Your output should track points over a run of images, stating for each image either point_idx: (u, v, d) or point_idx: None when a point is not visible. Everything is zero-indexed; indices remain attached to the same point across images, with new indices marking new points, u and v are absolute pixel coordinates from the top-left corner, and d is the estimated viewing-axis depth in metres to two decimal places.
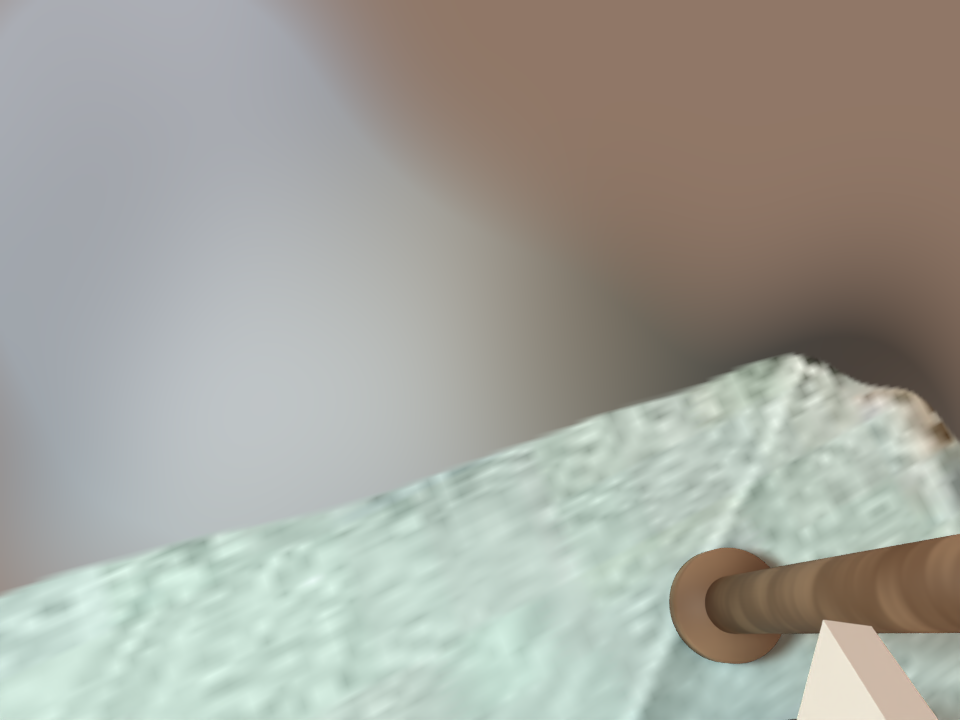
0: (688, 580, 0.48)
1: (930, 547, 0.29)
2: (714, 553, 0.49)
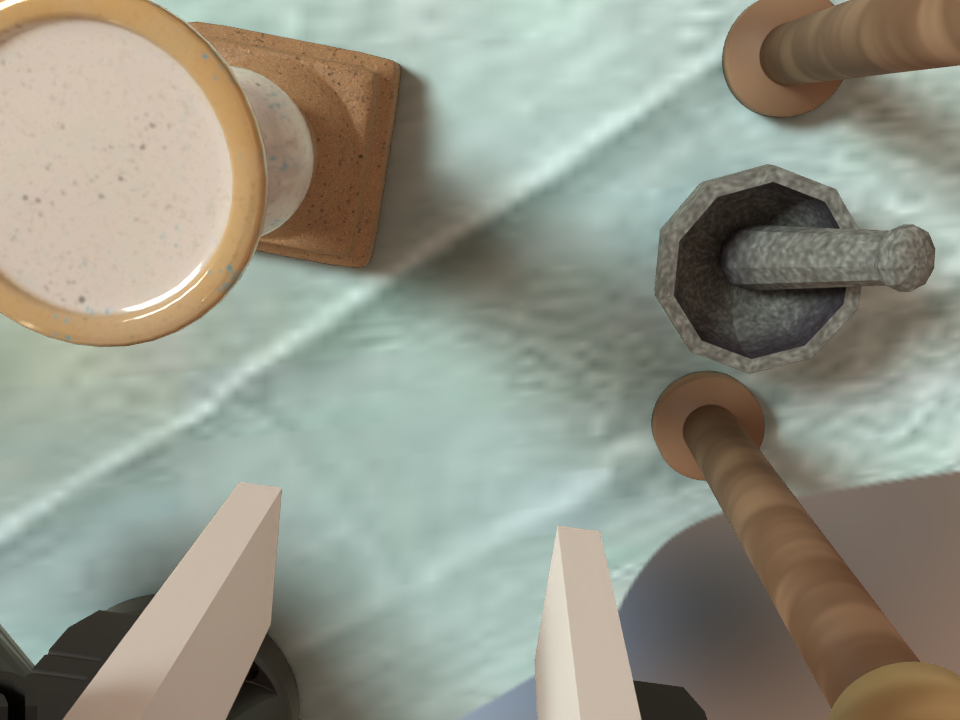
0: (762, 8, 0.44)
1: None
2: None
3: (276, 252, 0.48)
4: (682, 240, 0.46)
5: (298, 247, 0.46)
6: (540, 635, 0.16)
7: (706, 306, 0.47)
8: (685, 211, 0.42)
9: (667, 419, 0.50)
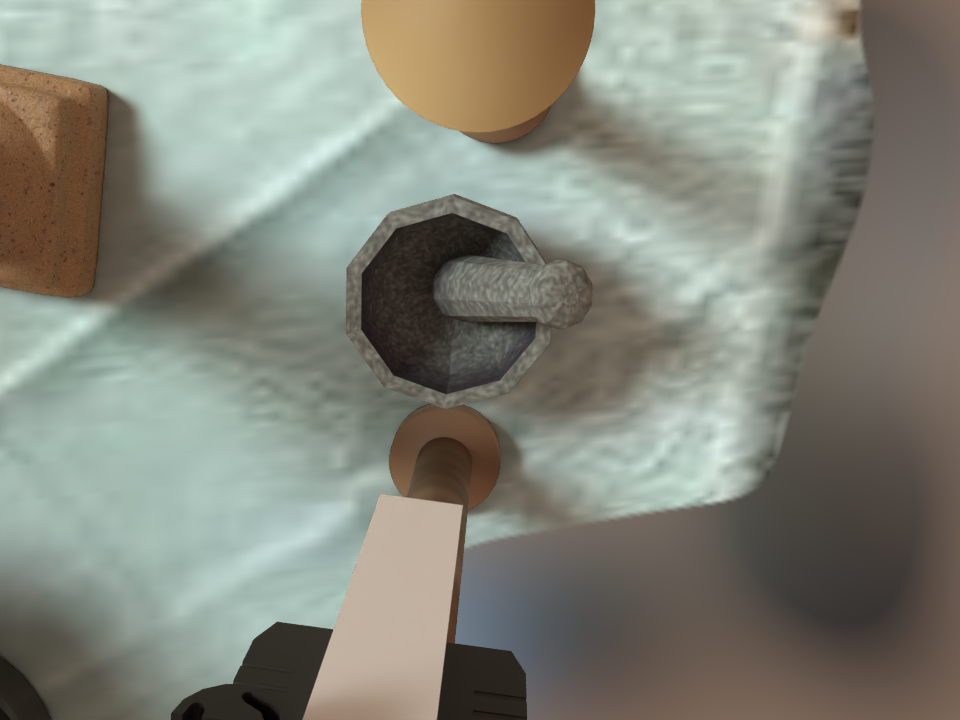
0: None
1: None
2: None
3: None
4: (392, 270, 0.45)
5: None
6: None
7: (424, 337, 0.46)
8: (365, 243, 0.40)
9: (400, 452, 0.49)
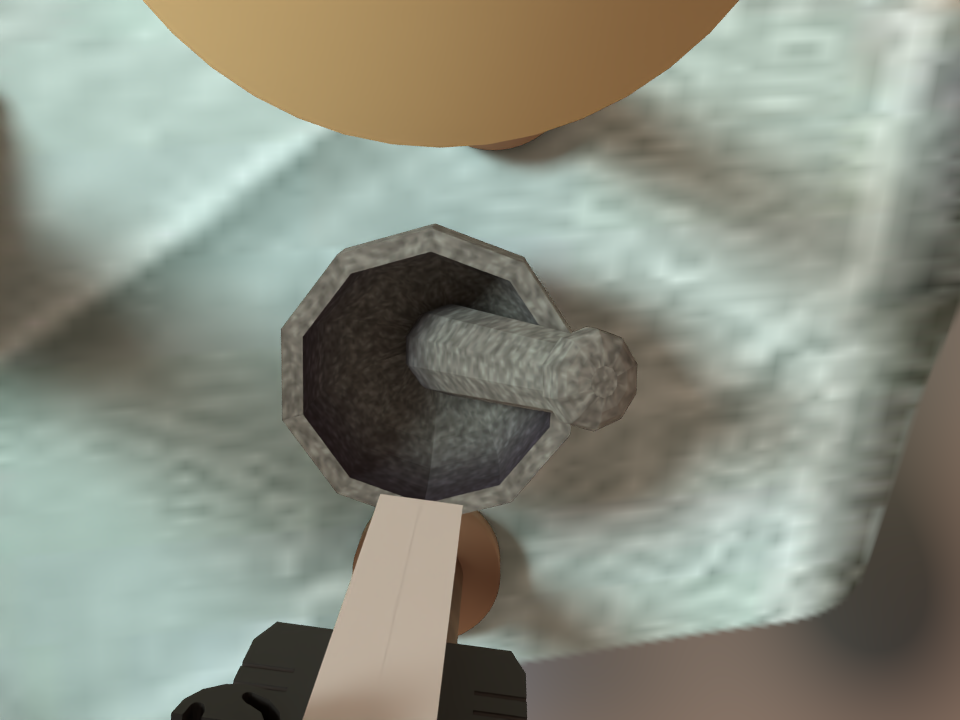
0: None
1: None
2: None
3: None
4: (352, 324, 0.33)
5: None
6: None
7: (396, 414, 0.34)
8: (308, 294, 0.28)
9: None
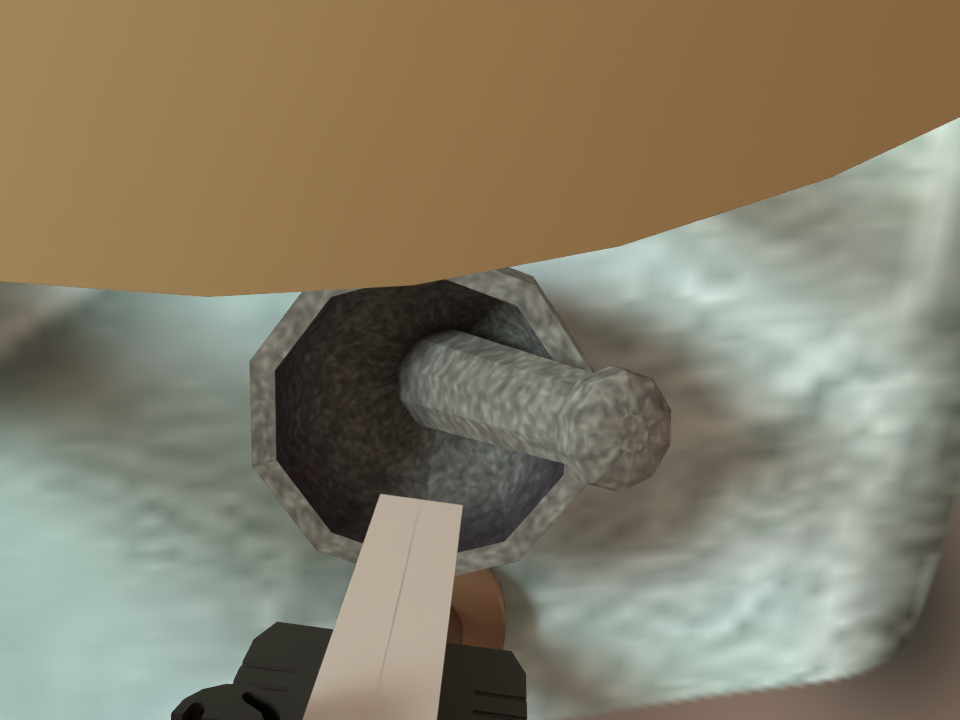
0: None
1: None
2: None
3: None
4: (335, 351, 0.28)
5: None
6: None
7: (387, 453, 0.29)
8: None
9: None
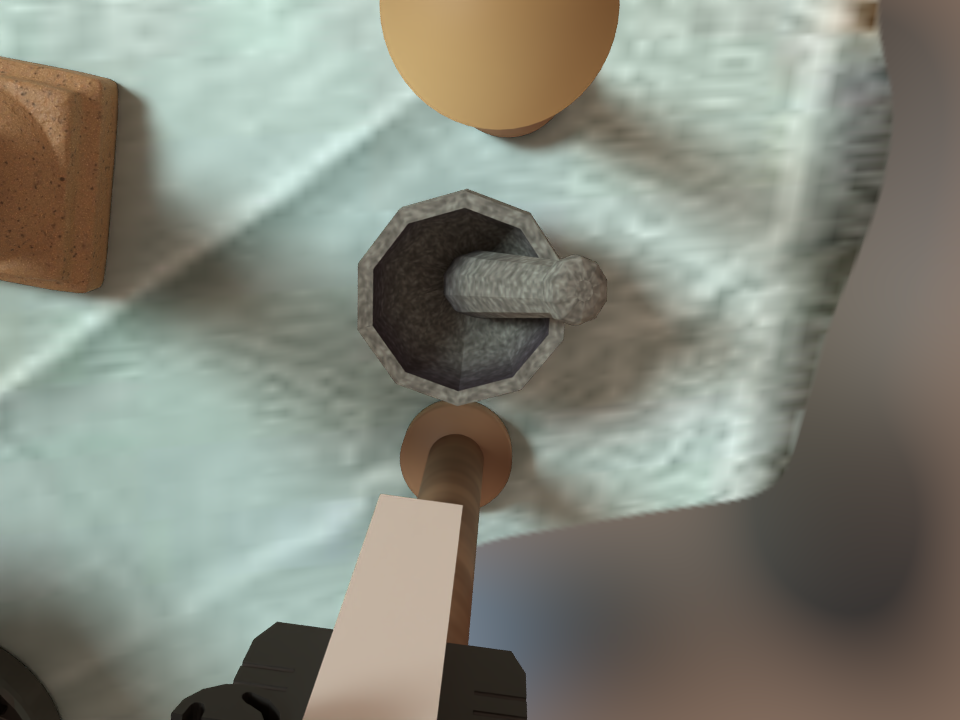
0: None
1: None
2: None
3: None
4: (403, 266, 0.44)
5: (6, 273, 0.45)
6: None
7: (435, 333, 0.45)
8: (377, 238, 0.40)
9: (411, 449, 0.48)
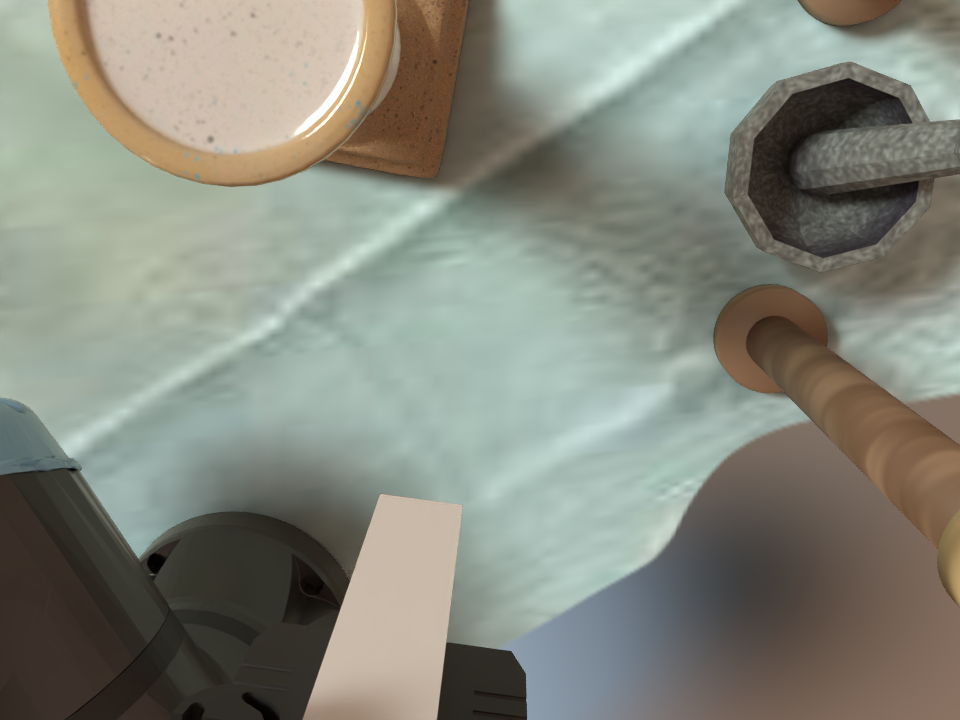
0: None
1: None
2: None
3: (347, 162, 0.48)
4: None
5: (371, 154, 0.47)
6: None
7: (773, 213, 0.48)
8: (760, 108, 0.42)
9: (731, 330, 0.51)
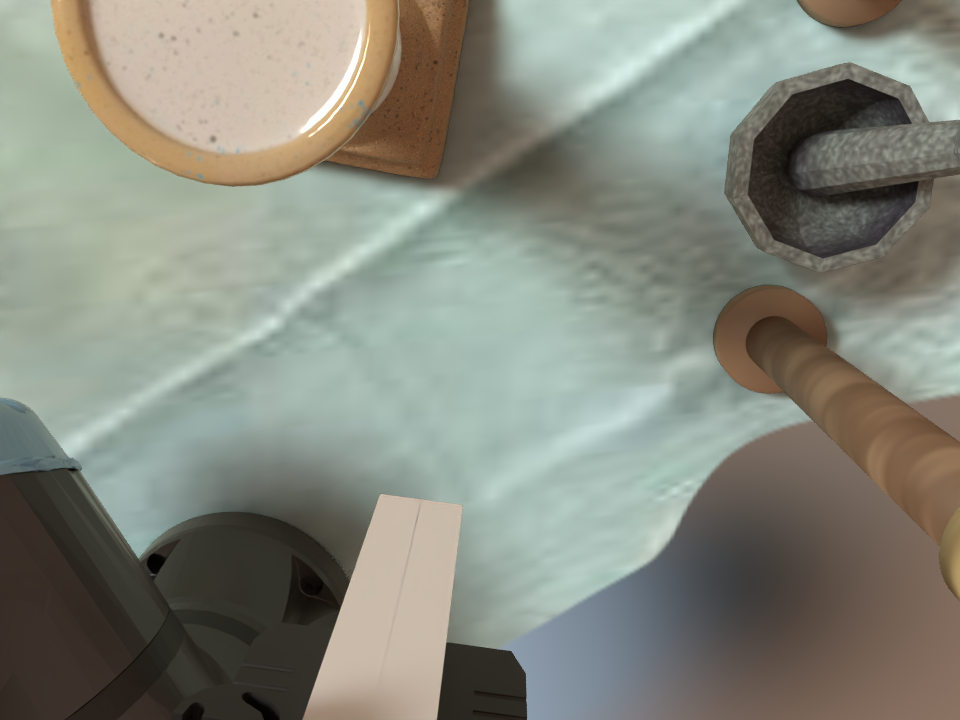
0: None
1: None
2: None
3: (347, 162, 0.49)
4: None
5: (371, 154, 0.47)
6: None
7: (773, 214, 0.48)
8: (760, 109, 0.42)
9: (730, 331, 0.51)
